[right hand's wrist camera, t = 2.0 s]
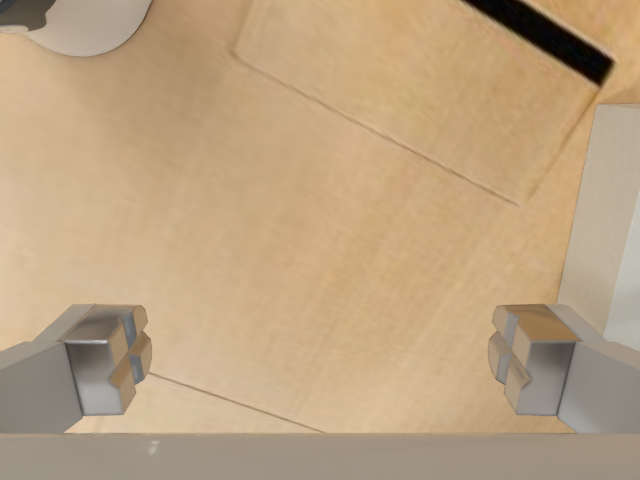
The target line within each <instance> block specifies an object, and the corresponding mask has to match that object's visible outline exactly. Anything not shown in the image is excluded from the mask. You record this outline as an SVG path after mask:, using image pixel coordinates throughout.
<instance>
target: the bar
mask: <svg viewBox="0 0 640 480" xmlns="http://www.w3.org/2000/svg"><path fill="white" fill-rule="evenodd" d="M557 304H565V305H568V306H570V307H571V308H572V309H573V310H574V311H575V312H576V313H577V314H578V315H579V316H581V317H582V318H583V319H584V320H585V321H586V322H587V323H588V324H589V325H590V326H591V327H593V328H594V329H595V330H596V331H597V332H598V333H599V334H600V335H601V336H602V337H603V338H605V339H606V340H607V341H608V342H617V343H619V344H622V345H624V346H627V347H629V348H632V349H634V350H637V351H639V352H640V103H635V104H597V105H596V110H595V115H594V119H593V124H592V129H591V134H590V139H589V144H588V149H587V154H586V159H585V164H584V169H583V174H582V179H581V184H580V189H579V194H578V199H577V204H576V209H575V214H574V219H573V224H572V229H571V234H570V239H569V244H568V249H567V254H566V259H565V264H564V269H563V274H562V279H561V284H560V289H559V294H558V299H557Z"/></svg>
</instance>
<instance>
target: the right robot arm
mask: <svg viewBox="0 0 640 480" xmlns="http://www.w3.org/2000/svg"><path fill="white" fill-rule="evenodd" d="M151 1H152V0H0V33H3V34H22V35H24V36H26V37H27V38H29V39H30V40H32V41H33V42H35V43H37V44H38V45H40V46H42V47H44V48H46V49H48V50H51V51H53V52H56V53H60V54H64V55H69V56H77V57H86V56H95V55H99V54H103V53H106V52H108V51H111V50H113V49H115V48H117V47H118V46H120V45H121V44H123V43H124V42H125V41H126V40H128V39H129V38H130V37H131V36H132V35H133V33H134V32H135V31H136V30H137V28H138V27H139V25H140V24H141V22H142V21H143V19H144V17H145V15H146V12H147V10H148V8H149V5H150V3H151ZM147 323H148V320H147V315H146V310H145V309H144V307H143V306H142V305H116V304H76V305H72V306H71V307H69V308H68V309H67V310H66V311H65V312H64V313H63V314H62V315H61V316H60V317H59V318H57V319H56V320H55V321H54V322H53V323H52V324H51V325H50V326H49V327H48V328H46V329H45V330H44V331H43V332H42V333H41V334H40V335H39V336H38V337H37V338H35V339H34V340H33V341H32V342H23V343H21V344H18V345H16V346H13V347H11V348H8V349H6V350H3V351H1V352H0V480H640V352H639V351H637V350H634V349H632V348H629V347H627V346H624V345H622V344H619V343H617V342H608V341H607V340H606V339H605V338H603V337H602V336H601V335H600V334H599V333H598V332H597V331H596V330H595V329H594V328H593V327H591V326H590V325H589V324H588V323H587V322H586V321H585V320H584V319H583V318H582V317H581V316H579V315H578V314H577V313H576V312H575V311H574V310H573V309H572V308H571V307H570V306H568V305H565V304H528V305H500V306H497V307H496V309H495V311H494V314H493V320H492V323H493V324H494V326H495V327H496V329H497V331H496V333H495V334H494V335H493V336H492V337H491V338H490V339H489V346H488V358H489V365H490V368H491V371H492V373H493V375H494V377H495V379H496V380H498V381H499V382H501V383H502V384H504V385H505V389H504V394H505V396H506V398H507V399H508V401H509V403H510V404H511V406H512V408H513V409H514V411H515V413H516V415H538V416H557V418H558V419H560V420H561V421H562V422H564V423H565V424H566V425H568V426H569V427H570V428H572V429H573V430H574V431H576V432H577V433H63V432H65V431H66V430H67V429H69V428H70V427H71V426H73V425H74V424H75V423H77V422H78V421H79V420H81V419H82V418H83V417H82V416H101V415H124V413H125V411H126V410H127V408H128V406H129V404H130V403H131V401H132V399H133V398H134V396H135V394H136V389H135V385H136V384H138V383H139V382H141V381H142V380H144V379H145V377H146V375H147V373H148V371H149V368H150V364H151V360H152V345H151V339H150V338H149V337H148V336H147V335H146V334H145V333H144V331H143V329H144V327H145V326H146V324H147Z"/></svg>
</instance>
